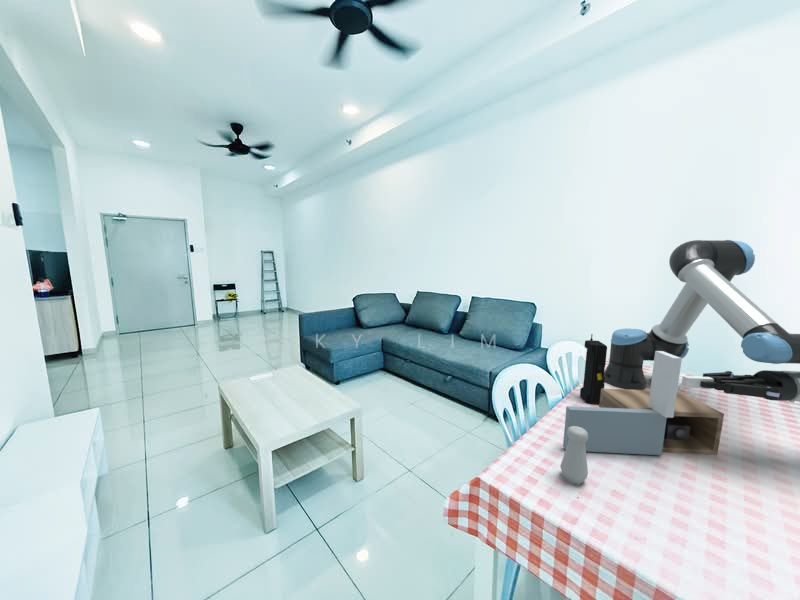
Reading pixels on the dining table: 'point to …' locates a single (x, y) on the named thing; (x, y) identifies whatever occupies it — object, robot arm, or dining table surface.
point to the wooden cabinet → (675, 420)
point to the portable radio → (594, 371)
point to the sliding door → (631, 416)
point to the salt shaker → (575, 456)
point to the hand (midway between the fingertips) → (684, 381)
